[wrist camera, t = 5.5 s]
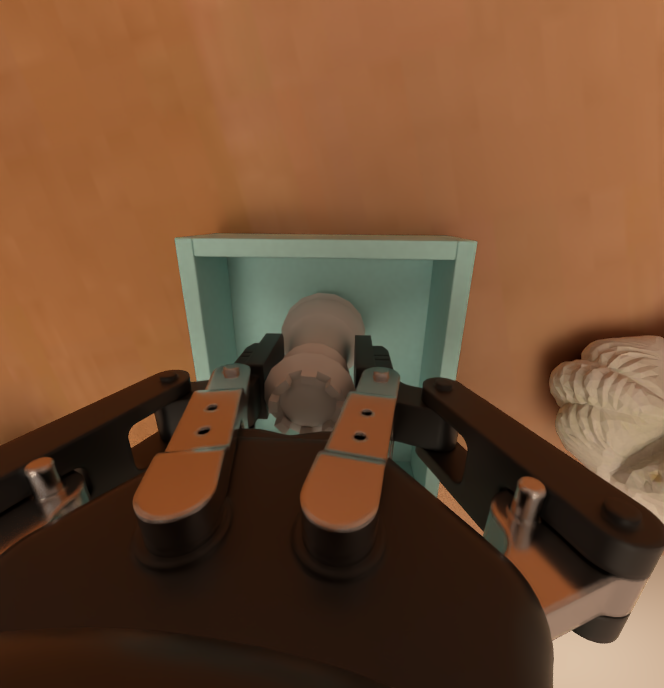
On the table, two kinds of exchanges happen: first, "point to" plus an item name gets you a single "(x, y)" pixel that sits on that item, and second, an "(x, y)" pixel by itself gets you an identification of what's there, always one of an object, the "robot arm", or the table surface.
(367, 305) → the storage box
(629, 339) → the fossil replica
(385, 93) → the table surface
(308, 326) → the rook chess piece
